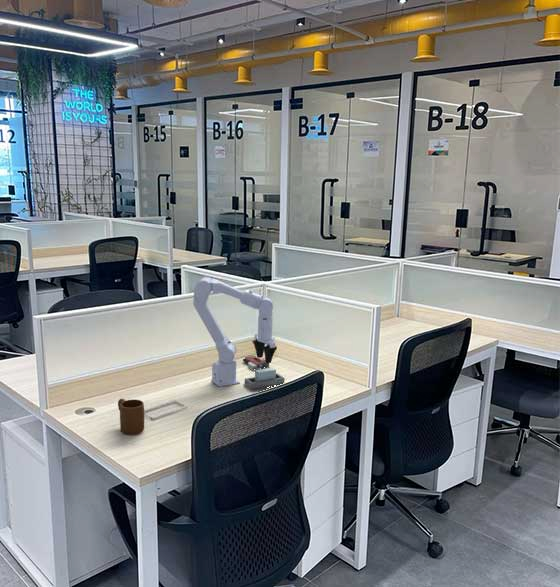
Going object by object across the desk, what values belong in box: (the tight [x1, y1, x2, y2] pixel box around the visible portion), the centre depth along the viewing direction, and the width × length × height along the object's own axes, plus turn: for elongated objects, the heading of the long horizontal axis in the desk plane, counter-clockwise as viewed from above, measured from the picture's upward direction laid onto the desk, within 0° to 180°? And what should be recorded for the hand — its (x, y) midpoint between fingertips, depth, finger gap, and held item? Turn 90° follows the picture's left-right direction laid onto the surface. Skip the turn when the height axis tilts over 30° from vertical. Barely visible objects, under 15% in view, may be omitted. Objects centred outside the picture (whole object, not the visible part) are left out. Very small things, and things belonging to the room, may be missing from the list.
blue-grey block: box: [254, 367, 277, 382], centre depth 225 cm, size 8×3×6 cm, turn 120°
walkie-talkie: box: [242, 354, 270, 371], centre depth 247 cm, size 9×4×20 cm
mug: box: [117, 398, 145, 436], centre depth 183 cm, size 12×8×9 cm, turn 45°
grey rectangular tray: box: [243, 373, 285, 392], centre depth 226 cm, size 15×8×3 cm, turn 120°
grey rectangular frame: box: [144, 400, 188, 420], centre depth 198 cm, size 7×1×15 cm
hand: (264, 360), depth 226 cm, fingers open, 7 cm apart
